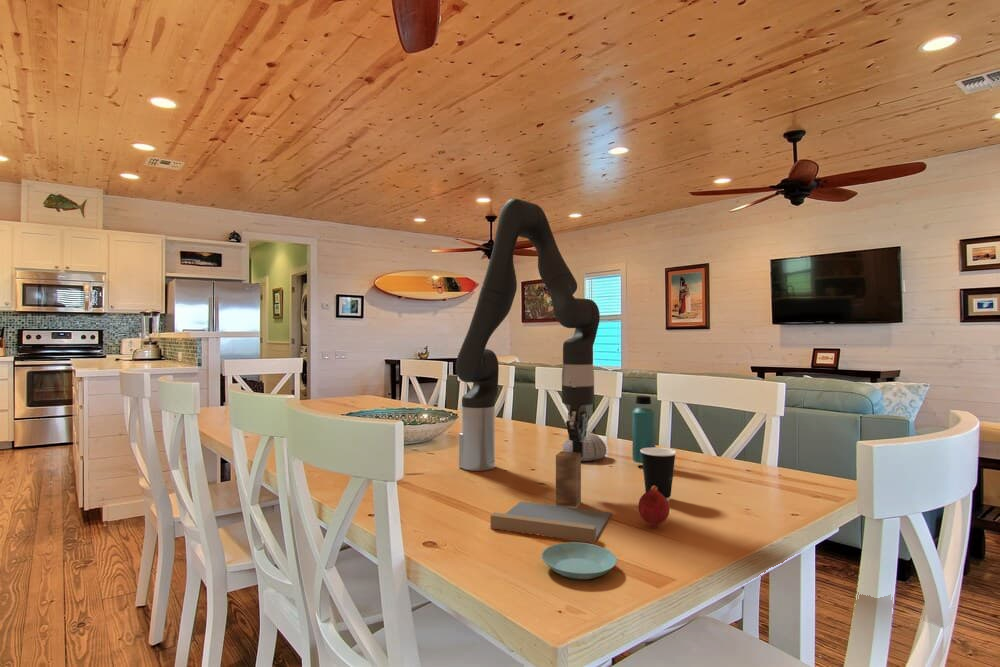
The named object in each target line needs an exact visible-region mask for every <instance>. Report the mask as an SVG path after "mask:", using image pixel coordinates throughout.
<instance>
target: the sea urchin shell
mask: <svg viewBox="0 0 1000 667" xmlns="http://www.w3.org/2000/svg"><path fill="white" fill-rule="evenodd" d="M584 438H585V439H584V441H583V457H582V458H581V462H591V461H597V459H598V460H601V459H603V458H604V457H605V456H606V455H607V452H608V450H607V446H606V444H605V442H604V441H603V440H602V438H601V437H600V436H598V435H597V434H595V433H593V432H588V431H586V437H584ZM562 451H563V452H573V442H572V441H571V440H570V439H569V437H568V438H567V439H566V440H565V442H564V444H563V445H562Z"/></svg>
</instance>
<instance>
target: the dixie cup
mask: <svg viewBox="0 0 1000 667" xmlns="http://www.w3.org/2000/svg"><path fill="white" fill-rule="evenodd" d="M640 452H641V453H642V462H643V463H642V468H643V469H642V470H643V478H644V480H643V481H644V488H645V489H644V491H645V493H646V492H648V491H649V490H650V489H651V487H652V486H654V485H655V486H656V487H658V489H657V490H658V491H659V492H660V493H661V494H663V496H664V497H665V498H666V500H667V501H668V502H670V498H671V496H672V495H671V494H672V487H673V478H674V471H675V469H674V468H675V462H676V461H675V460H676V455H677V454H678V453H677V451H676V450H674V449H671V448H666V447H665V448H664V447H655V448H643V449H641V450H640Z"/></svg>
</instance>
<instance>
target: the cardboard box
mask: <svg viewBox="0 0 1000 667" xmlns="http://www.w3.org/2000/svg"><path fill="white" fill-rule="evenodd" d="M581 503H582V461H581V453H575V452H563V450H561V451H560V452H558V453H557V454H556V455H555V506H561V507H570V508H578V507H579V506H580V504H581Z"/></svg>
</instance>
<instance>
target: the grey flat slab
mask: <svg viewBox="0 0 1000 667" xmlns="http://www.w3.org/2000/svg"><path fill="white" fill-rule="evenodd" d="M611 515H612V512H609V511H601V510H594V509H587V508H586V509H585V508H578V507H577V508H570V507H561V506H556V505H552V504H543V503H538V502H537V503H536V502H527V501H519V502H517V503H516V505H514V506H513V507H512V508H511V509H510V510H509V511H507V512H505V513H501V512H493V513H492V514H491V515H490V529H491V530H497V529H499V530H500V531H504V530H507V531H506V532H511V531H515V532H514V533H518V532H523V533H522V534H525V533H531V534H530V535H532V534H539V535H544V536H543V537H546V536H551V537H550V538H553V537H557V538H556V539H560V538H563V539H562V540H567V539H569V540H568V541H574V540H576V541H575V542H581V541H583V542H582V543H588V542H591V543H590V544H595V542H596V540H597V539H598V537H599V536H600V535H601V532H602V531H603V529H604V527H605V526H606V524H607V522H608V520H609V519H610V517H611ZM499 530H498V531H499ZM539 535H538V536H539Z"/></svg>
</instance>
